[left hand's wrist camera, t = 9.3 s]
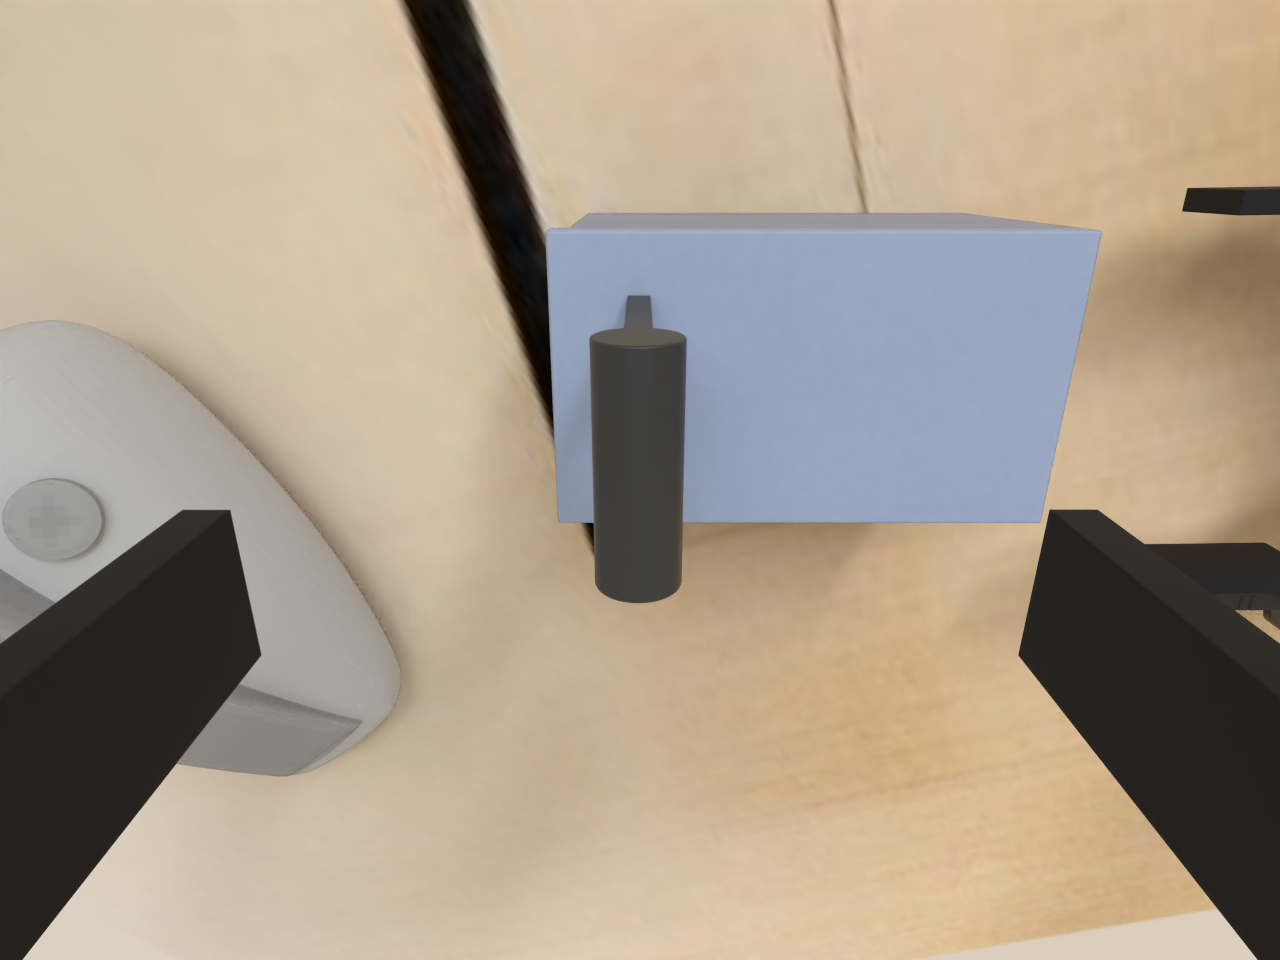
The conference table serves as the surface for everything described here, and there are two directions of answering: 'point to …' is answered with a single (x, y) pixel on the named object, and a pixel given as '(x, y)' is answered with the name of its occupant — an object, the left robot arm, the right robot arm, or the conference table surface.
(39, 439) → the projector
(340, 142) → the conference table surface
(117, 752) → the left robot arm
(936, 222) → the chest
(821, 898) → the conference table surface
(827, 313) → the lid
